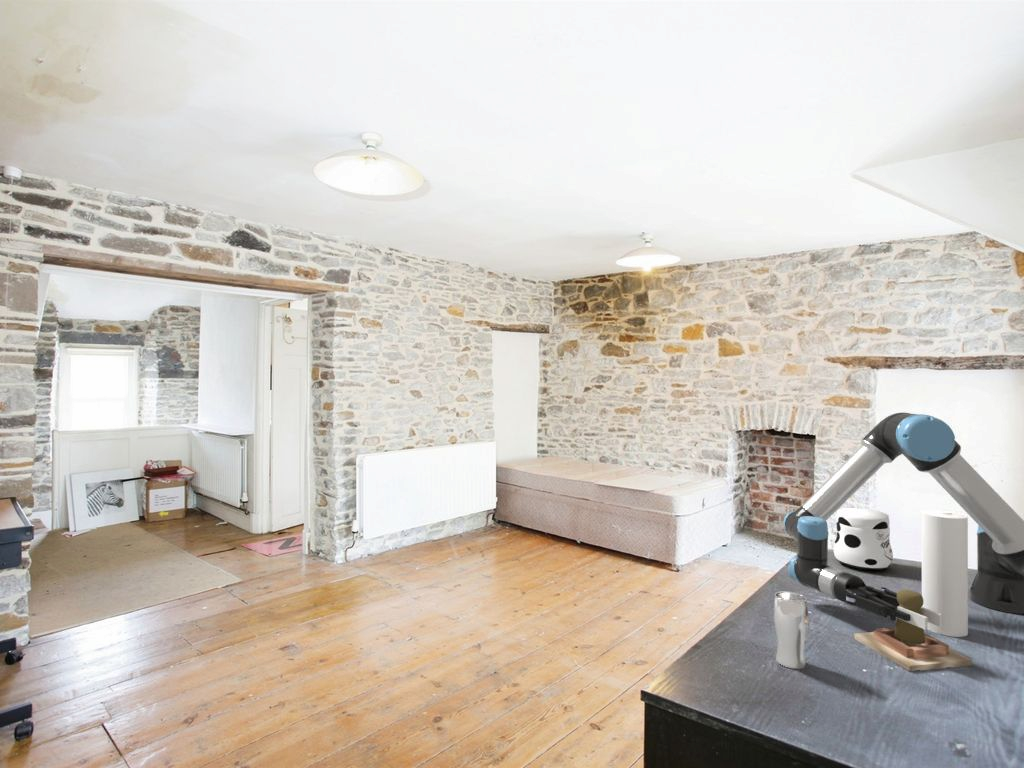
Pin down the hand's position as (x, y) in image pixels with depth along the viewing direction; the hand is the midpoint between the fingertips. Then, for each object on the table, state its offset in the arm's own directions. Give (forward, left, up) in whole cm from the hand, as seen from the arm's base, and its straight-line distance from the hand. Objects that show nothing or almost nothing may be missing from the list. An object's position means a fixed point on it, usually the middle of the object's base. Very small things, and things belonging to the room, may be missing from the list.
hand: (933, 621), depth 128 cm
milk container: (-35, -61, -9) cm, 71 cm away
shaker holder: (+1, -5, -9) cm, 11 cm away
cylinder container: (-18, -14, -9) cm, 25 cm away
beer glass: (+32, -5, -9) cm, 34 cm away
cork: (+1, -5, -6) cm, 8 cm away
